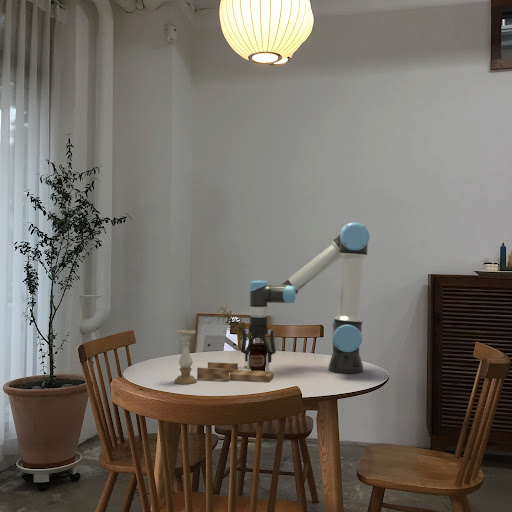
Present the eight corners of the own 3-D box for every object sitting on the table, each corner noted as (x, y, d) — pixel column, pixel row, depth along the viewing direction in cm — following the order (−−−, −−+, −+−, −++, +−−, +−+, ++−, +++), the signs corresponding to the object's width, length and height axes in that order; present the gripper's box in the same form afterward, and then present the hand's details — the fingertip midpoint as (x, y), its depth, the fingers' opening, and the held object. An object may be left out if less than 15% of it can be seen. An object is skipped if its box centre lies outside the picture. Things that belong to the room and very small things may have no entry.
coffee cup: (266, 376, 243) (266, 345, 243) (246, 375, 244) (247, 344, 244) (269, 372, 251) (270, 342, 251) (251, 371, 253) (251, 341, 253)
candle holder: (176, 384, 223) (176, 332, 224) (172, 380, 232) (173, 329, 232) (198, 383, 226) (198, 331, 226) (194, 379, 234) (194, 329, 234)
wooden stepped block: (274, 376, 241) (274, 365, 242) (267, 383, 227) (267, 371, 227) (208, 373, 248) (208, 362, 248) (197, 379, 233) (197, 367, 233)
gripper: (283, 316, 250) (283, 369, 249) (237, 315, 254) (237, 367, 254) (280, 317, 242) (279, 372, 242) (233, 316, 247) (233, 370, 246)
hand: (258, 369), depth 248 cm, fingers closed on coffee cup, 7 cm apart
